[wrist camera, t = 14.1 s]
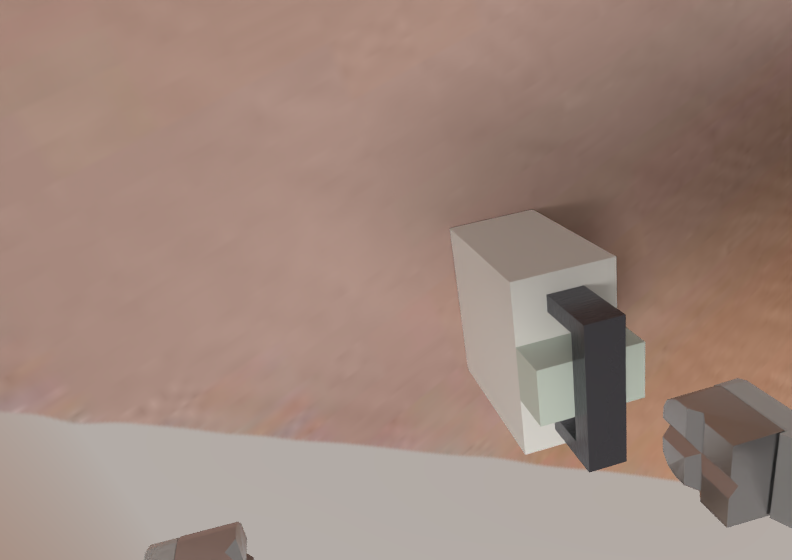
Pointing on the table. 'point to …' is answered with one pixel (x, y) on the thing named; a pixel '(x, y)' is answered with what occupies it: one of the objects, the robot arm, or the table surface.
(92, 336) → the table surface
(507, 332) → the stand
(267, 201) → the table surface
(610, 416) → the frame
